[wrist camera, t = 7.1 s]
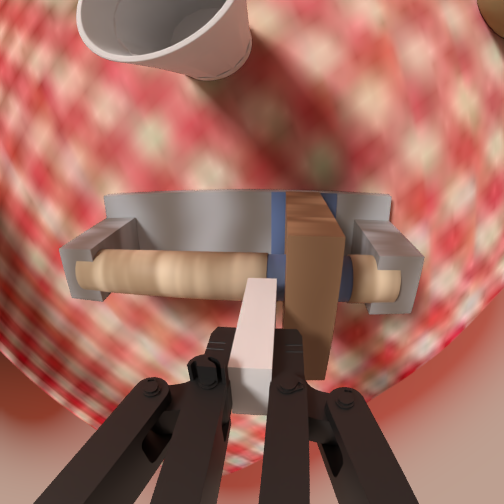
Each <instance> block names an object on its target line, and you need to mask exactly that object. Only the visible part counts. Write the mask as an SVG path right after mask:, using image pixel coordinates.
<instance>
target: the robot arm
mask: <svg viewBox="0 0 504 504" xmlns="http://www.w3.org/2000/svg"><path fill="white" fill-rule="evenodd" d="M276 294H277V279H271V278H248V280H247V284H246V288H245V293H244V297H243V302H242V306H241V310H240V315H239V319H238V324H237V328H231V327H217V328H216V329H215V330H214V331H213V332H212V333H211V336H210V339H209V343H208V345H207V349H206V351H205V354H204V355H199V356H196V357H194V358H193V359H191V360H190V361H189V363H188V364H187V367H188V372H189V376H190V381H188V382H186V383H182V384H176V385H168V384H167V382H166V381H164V380H163V379H161V378H156V377H151V378H146V379H144V380H142V381H140V382H139V383H138V384H137V385H136V386H135V387H134V388H133V389H132V391H131V392H130V393H129V394H128V395H127V396H126V397H125V399H124V400H123V401H122V402H121V403H120V404H119V406H118V407H117V408H116V409H115V410H114V411H113V412H112V414H111V415H110V416H109V417H108V418H107V419H106V420H105V422H104V423H103V424H102V425H101V426H100V427H99V429H98V430H97V431H96V432H95V433H94V434H93V436H92V437H91V438H90V439H89V440H88V441H87V443H85V445H84V446H83V447H82V448H81V449H80V450H79V452H78V453H77V454H76V455H75V456H74V457H73V458H72V460H71V461H70V462H69V463H68V464H67V465H66V466H65V468H64V469H63V470H62V471H61V472H60V473H59V475H58V476H57V477H56V478H55V479H54V480H53V481H52V483H51V484H50V485H49V486H48V487H47V488H46V489H45V491H44V492H43V493H42V494H41V496H39V498H38V499H37V500H36V501H35V502H34V504H133V503H134V502H135V501H136V499H137V498H138V497H139V495H140V494H141V492H142V491H143V489H144V488H145V486H146V485H147V483H148V482H149V480H150V479H151V478H152V476H153V475H154V473H155V471H156V470H157V469H158V467H159V466H160V464H161V463H162V461H163V460H164V462H163V465H162V468H161V471H160V474H159V477H158V480H157V483H156V487H155V490H154V493H153V496H152V499H151V502H150V504H216V503H217V498H218V493H219V487H220V482H221V477H222V471H223V466H224V460H225V455H226V449H227V444H228V438H229V433H230V427H231V419H230V415H231V410H232V413H236V414H250V415H267V422H266V433H265V445H264V455H263V466H262V477H261V486H260V495H259V504H310V499H309V496H310V492H309V491H310V489H309V487H310V486H309V485H310V484H309V481H310V479H309V441H313V442H317V444H318V447H319V450H320V452H321V455H322V458H323V461H324V464H325V467H326V469H327V472H328V475H329V477H330V480H331V483H332V486H333V489H334V492H335V494H336V497H337V500H338V503H339V504H419V503H418V501H417V499H416V497H415V495H414V493H413V491H412V489H411V487H410V485H409V483H408V481H407V479H406V477H405V475H404V473H403V471H402V469H401V467H400V465H399V464H398V462H397V460H396V458H395V456H394V454H393V452H392V450H391V448H390V446H389V444H388V443H387V441H386V439H385V437H384V435H383V433H382V431H381V429H380V428H379V426H378V424H377V422H376V420H375V418H374V416H373V415H372V413H371V411H370V409H369V407H368V405H367V403H366V401H365V400H364V398H363V396H362V395H361V394H360V393H359V392H358V391H356V390H354V389H352V388H347V387H342V388H337V389H335V390H333V391H332V392H331V393H326V392H321V391H318V390H315V389H314V388H312V387H311V386H310V385H309V384H308V383H307V382H306V380H305V376H304V357H303V340H302V335H301V334H300V332H299V331H298V330H297V329H275V327H276ZM164 458H165V459H164Z"/></svg>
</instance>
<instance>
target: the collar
mask: <svg viewBox="0 0 504 504" xmlns="http://www.w3.org/2000/svg"><path fill="white" fill-rule="evenodd" d="M345 238H346V237H345V235H344V233H343V232H342V230H341V228H340V226H339V225H338V223H337V221H336V219H335V218H334V216H333V214H332V212H331V211H330V209H329V207H328V206H327V204H326V202H325V201H324V199H323V197H322V196H321V194H320V192H294V191H286V209H285V250H284V254H286V268H285V293H284V301H283V318H282V329H297V330H298V331H299V332H300V334H301V335H302V340H303V357H304V376H305V380H325V375H326V370H327V365H328V359H329V354H330V348H331V343H332V337H333V331H334V325H335V318H336V312H337V305H338V298H339V290H340V283H341V275H342V266H343V257H344V248H345Z"/></svg>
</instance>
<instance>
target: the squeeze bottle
mask: <svg viewBox="0 0 504 504" xmlns="http://www.w3.org/2000/svg"><path fill="white" fill-rule="evenodd" d="M477 4H478V7H479V9H480V12H481V14H482V16H483V18H484V19H485V21H486V22H487V24H488V25H489V26H490V27H491V28H492V29H493V31H494V32H495V33H496V34H498V35H499V36H501V37H502V38H504V0H477Z"/></svg>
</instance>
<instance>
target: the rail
mask: <svg viewBox="0 0 504 504" xmlns="http://www.w3.org/2000/svg"><path fill="white" fill-rule="evenodd" d="M286 191H294V192H320V194H321V196H322V197H323V199H324V201H325V202H326V204H327V206H328V207H329V209H330V211H331V212H332V214H333V216H334V218H335V219H336V221H337V223H338V225H339V226H340V228H341V230H342V232H343V233H344V235H345V237H346V238H345V248H344V257H343V266H342V275H341V283H340V290H339V298H338V302H347V303H365V305H366V308H367V310H368V313H369V314H405V313H411V311H412V308H413V304H414V300H415V296H416V292H417V288H418V284H419V280H420V276H421V271H422V267H423V262H424V256H423V255H422V254H421V253H420V252H419V251H418V250H417V249H416V247H415V246H414V245H413V244H412V243H411V242H410V241H409V240H408V239H407V238H406V237H405V236H404V235H403V234H402V233H401V232H400V231H399V230H398V229H397V228H396V227H395V226H394V225H393V224H392V223H391V222H390V221H389V216H390V207H391V196H390V195H389V194H376V193H360V192H340V191H315V190H269V189H226V190H180V191H155V192H136V193H120V194H108V195H106V196H104V202H105V209H106V216H107V218H106V219H105V220H103V221H101V222H100V223H98V224H96V225H95V226H93V227H92V228H90V229H88V230H87V231H85V232H84V233H82V234H81V235H79V236H77V237H76V238H74V239H73V240H71V241H70V242H68V243H67V244H65V245H64V246H62V247H61V248H59V252H60V256H61V260H62V264H63V267H64V271H65V275H66V279H67V282H68V286H69V289H70V292H71V296H72V298H77V299H85V300H93V301H101V302H103V301H104V300H105V299H106V298H107V297H108V296H109V294H110V293H111V292H113V293H124V294H136V295H148V296H162V297H176V298H192V299H209V300H230V301H243V297H244V293H245V288H246V284H247V280H248V278H271V279H277V294H276V301H284V293H285V268H286V254H284V250H285V209H286Z"/></svg>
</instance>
